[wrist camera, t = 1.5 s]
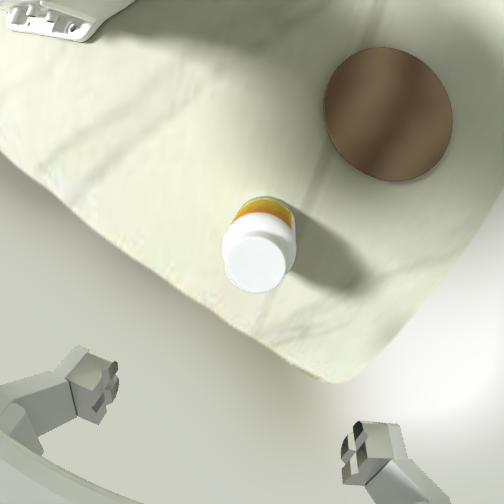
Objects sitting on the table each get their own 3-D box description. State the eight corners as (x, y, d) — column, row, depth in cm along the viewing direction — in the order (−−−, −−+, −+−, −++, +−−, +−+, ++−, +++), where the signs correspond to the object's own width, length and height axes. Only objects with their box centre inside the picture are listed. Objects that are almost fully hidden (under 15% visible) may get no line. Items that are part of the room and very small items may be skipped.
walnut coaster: (308, 155, 27) (308, 156, 26) (340, 32, 23) (342, 29, 22) (427, 196, 27) (431, 198, 26) (458, 81, 22) (463, 80, 21)
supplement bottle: (227, 206, 30) (199, 242, 21) (283, 186, 28) (280, 213, 19) (249, 258, 31) (232, 312, 22) (303, 240, 30) (308, 290, 21)
